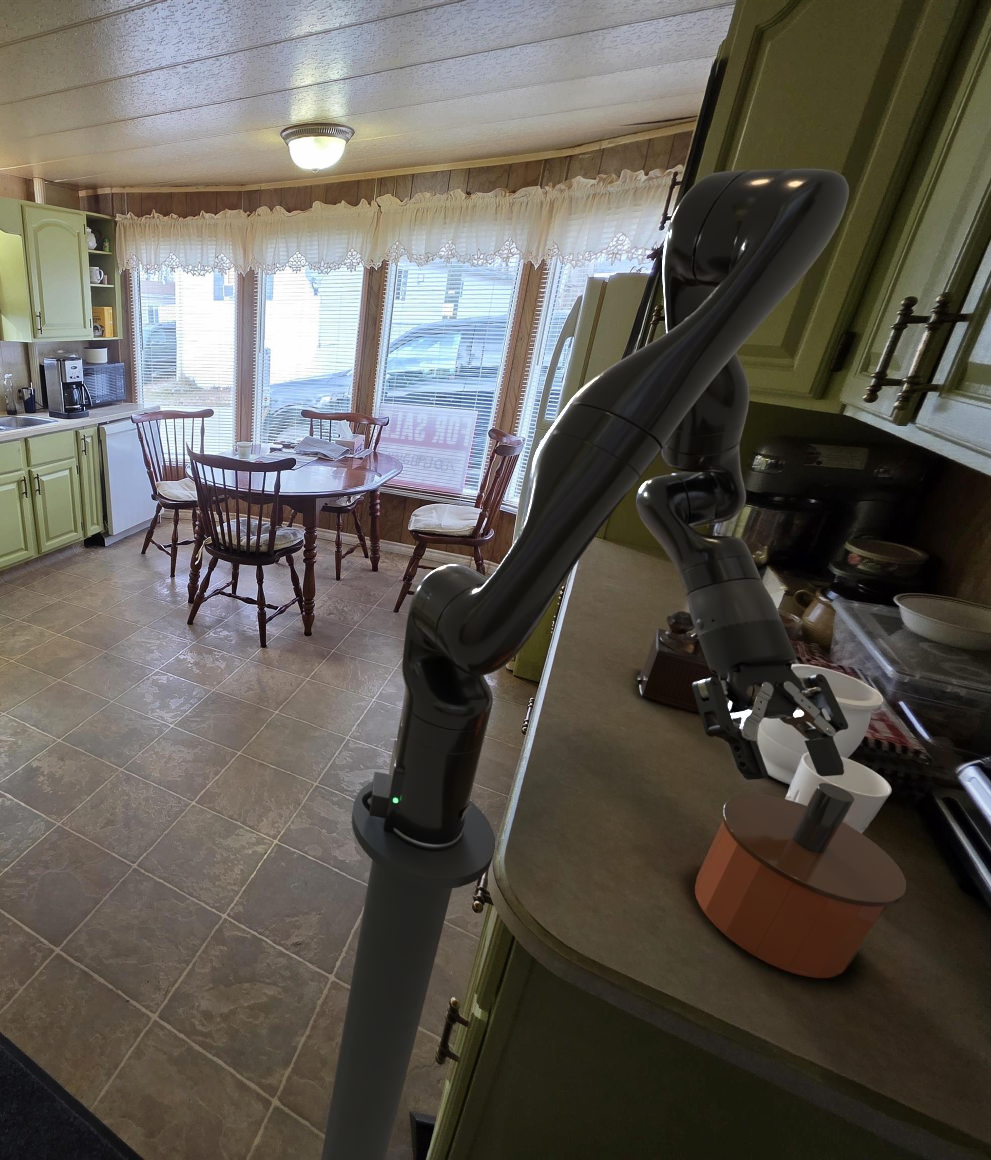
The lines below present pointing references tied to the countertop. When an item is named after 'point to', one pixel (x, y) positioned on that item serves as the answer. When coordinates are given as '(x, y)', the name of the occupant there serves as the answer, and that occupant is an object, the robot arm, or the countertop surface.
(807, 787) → the white cup
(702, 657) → the manual coffee grinder
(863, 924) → the crock
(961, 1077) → the countertop surface
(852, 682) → the jar
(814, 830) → the lid
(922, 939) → the countertop surface
